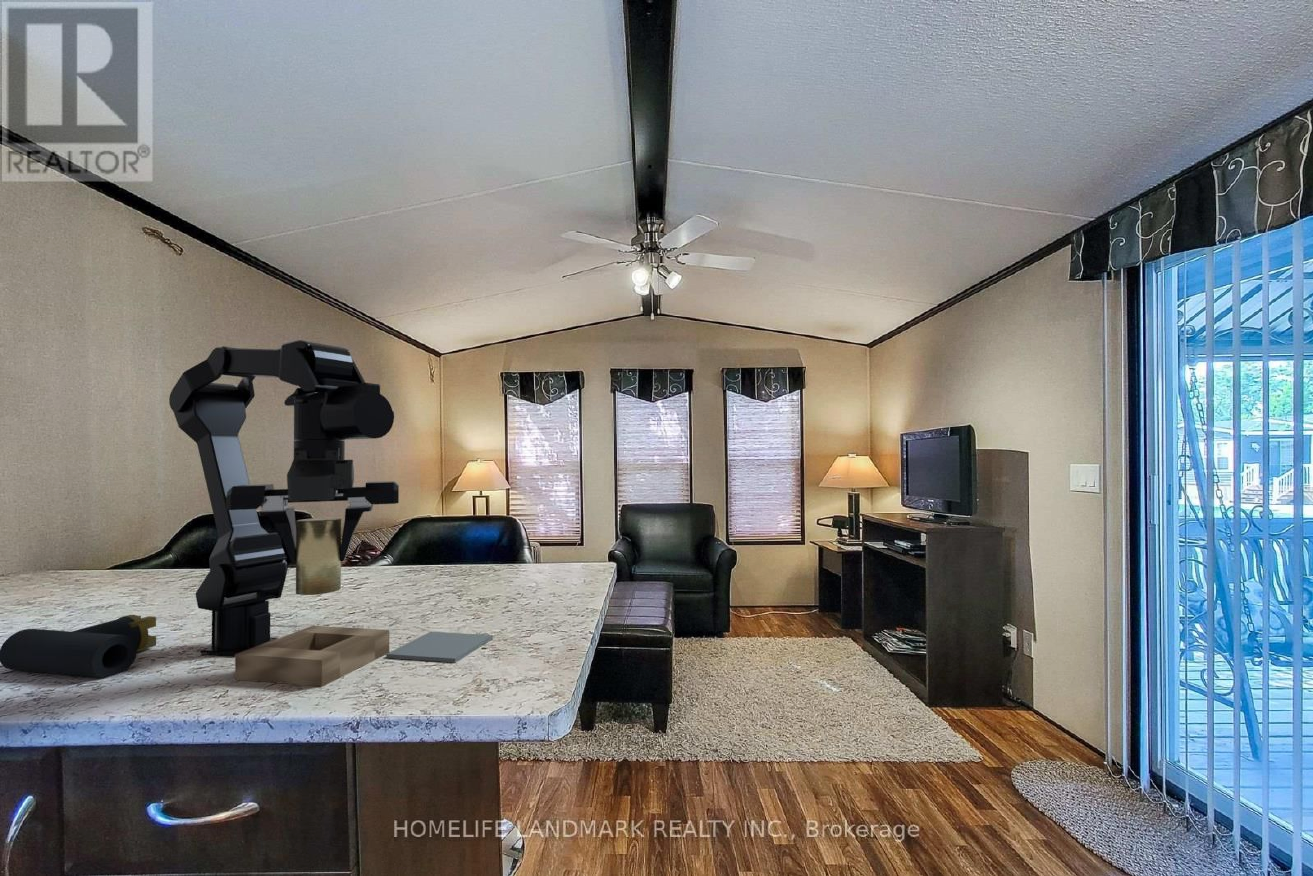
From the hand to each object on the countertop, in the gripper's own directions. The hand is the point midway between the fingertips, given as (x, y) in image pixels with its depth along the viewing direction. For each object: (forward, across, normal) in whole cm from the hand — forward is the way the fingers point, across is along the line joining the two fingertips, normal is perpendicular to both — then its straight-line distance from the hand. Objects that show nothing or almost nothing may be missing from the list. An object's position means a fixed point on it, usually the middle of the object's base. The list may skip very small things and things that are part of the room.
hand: (318, 562), depth 75 cm
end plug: (+4, 0, 0) cm, 4 cm away
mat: (+13, +15, 0) cm, 20 cm away
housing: (+13, 0, 0) cm, 13 cm away
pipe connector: (+14, -27, +14) cm, 33 cm away
